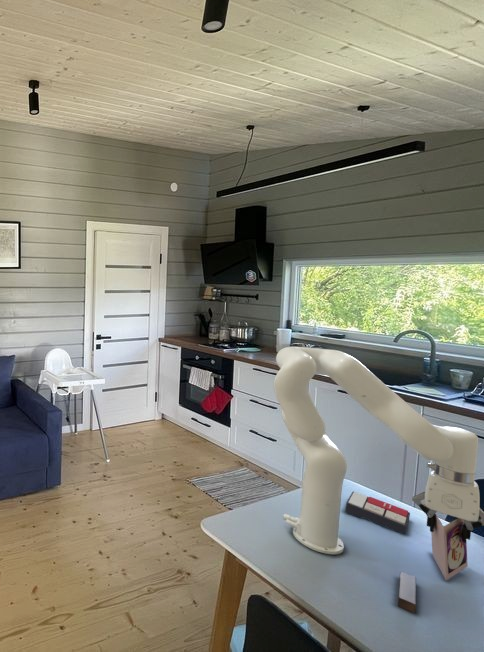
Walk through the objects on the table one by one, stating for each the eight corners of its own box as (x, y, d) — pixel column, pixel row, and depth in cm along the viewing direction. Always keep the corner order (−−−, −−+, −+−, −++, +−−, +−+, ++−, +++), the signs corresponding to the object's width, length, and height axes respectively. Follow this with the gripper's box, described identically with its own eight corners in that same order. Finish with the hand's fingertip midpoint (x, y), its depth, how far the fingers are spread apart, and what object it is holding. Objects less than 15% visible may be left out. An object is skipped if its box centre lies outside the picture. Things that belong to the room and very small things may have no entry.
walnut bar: (397, 606, 99) (398, 597, 99) (399, 579, 108) (400, 571, 107) (414, 613, 97) (415, 604, 97) (415, 585, 106) (416, 577, 105)
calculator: (406, 524, 125) (346, 500, 136) (404, 536, 126) (344, 512, 137) (410, 510, 132) (353, 489, 143) (408, 522, 133) (351, 499, 144)
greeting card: (450, 582, 107) (448, 528, 106) (414, 565, 114) (412, 514, 113) (472, 568, 111) (469, 515, 110) (436, 552, 118) (433, 503, 117)
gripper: (410, 466, 113) (404, 526, 115) (504, 491, 101) (496, 557, 102) (410, 458, 118) (405, 515, 120) (500, 480, 106) (493, 543, 108)
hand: (447, 534), depth 111 cm, fingers closed on greeting card, 5 cm apart
